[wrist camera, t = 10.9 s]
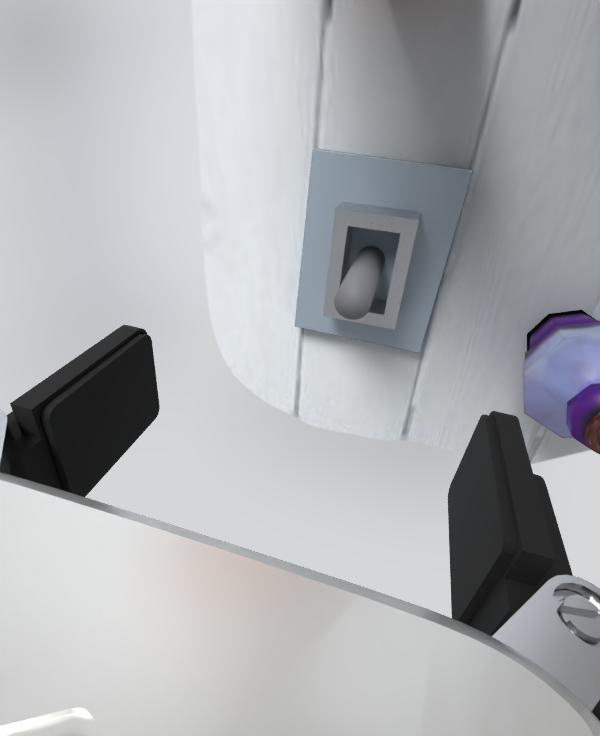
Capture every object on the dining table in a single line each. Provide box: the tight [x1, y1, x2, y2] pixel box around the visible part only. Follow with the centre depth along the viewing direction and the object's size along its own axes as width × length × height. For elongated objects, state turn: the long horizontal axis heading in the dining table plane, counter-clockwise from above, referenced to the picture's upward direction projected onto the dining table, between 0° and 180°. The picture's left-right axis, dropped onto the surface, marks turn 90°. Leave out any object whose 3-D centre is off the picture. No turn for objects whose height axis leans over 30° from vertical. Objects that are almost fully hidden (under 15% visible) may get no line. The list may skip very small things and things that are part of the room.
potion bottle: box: [523, 310, 600, 454], centre depth 28 cm, size 9×9×12 cm
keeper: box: [295, 149, 472, 353], centre depth 29 cm, size 14×11×10 cm
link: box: [323, 202, 420, 329], centre depth 31 cm, size 8×6×3 cm
